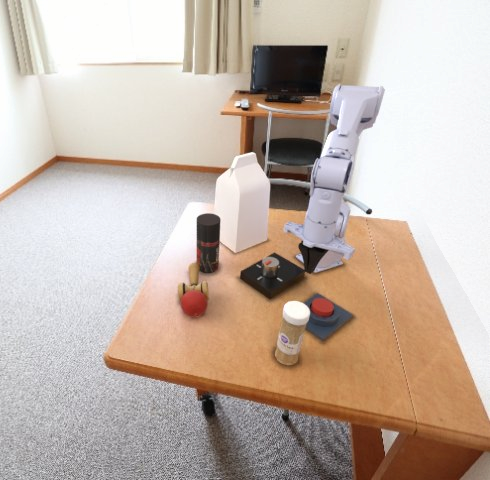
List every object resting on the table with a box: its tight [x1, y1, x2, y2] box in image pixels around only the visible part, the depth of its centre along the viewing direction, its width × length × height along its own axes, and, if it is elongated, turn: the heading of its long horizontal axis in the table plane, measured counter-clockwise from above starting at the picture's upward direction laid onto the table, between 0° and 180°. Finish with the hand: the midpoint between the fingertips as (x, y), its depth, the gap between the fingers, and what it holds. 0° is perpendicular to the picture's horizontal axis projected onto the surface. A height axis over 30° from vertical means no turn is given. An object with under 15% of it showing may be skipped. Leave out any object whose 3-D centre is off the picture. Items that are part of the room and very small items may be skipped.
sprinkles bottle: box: [274, 300, 310, 366], centre depth 66 cm, size 5×5×14 cm
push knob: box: [311, 298, 334, 317], centre depth 77 cm, size 4×4×2 cm
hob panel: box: [239, 252, 306, 300], centre depth 89 cm, size 13×10×3 cm
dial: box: [261, 256, 279, 278], centre depth 87 cm, size 4×4×4 cm
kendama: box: [177, 262, 210, 318], centre depth 85 cm, size 8×6×18 cm
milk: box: [213, 151, 271, 254], centre depth 99 cm, size 12×12×26 cm
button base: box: [303, 292, 354, 342], centre depth 78 cm, size 11×9×2 cm
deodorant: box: [196, 212, 221, 275], centre depth 91 cm, size 6×6×15 cm
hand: (309, 270), depth 76 cm, fingers closed
